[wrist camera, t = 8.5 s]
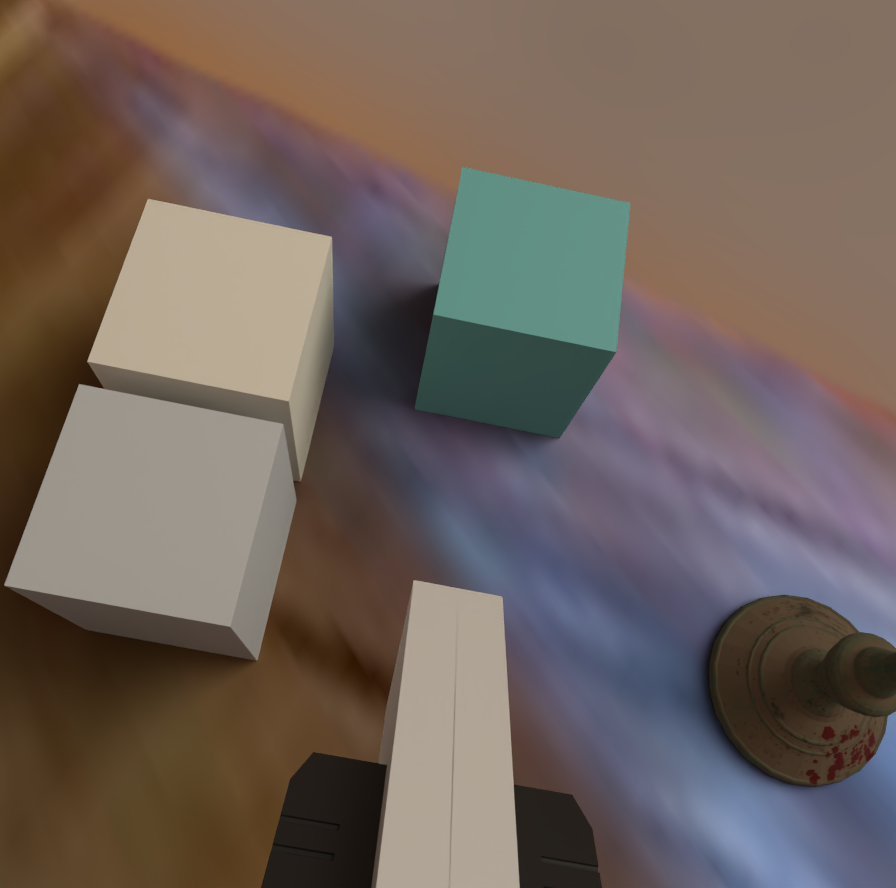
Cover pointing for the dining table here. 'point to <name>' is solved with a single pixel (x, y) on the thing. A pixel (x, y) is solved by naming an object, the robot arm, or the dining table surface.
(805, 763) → the candlestick holder
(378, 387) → the dining table surface
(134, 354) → the cream block
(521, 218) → the teal block
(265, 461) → the grey block
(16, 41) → the dining table surface
